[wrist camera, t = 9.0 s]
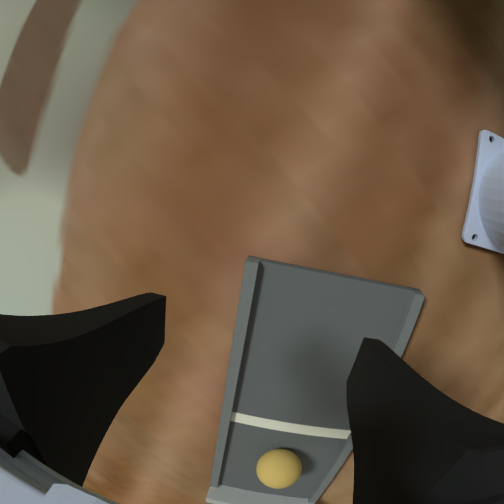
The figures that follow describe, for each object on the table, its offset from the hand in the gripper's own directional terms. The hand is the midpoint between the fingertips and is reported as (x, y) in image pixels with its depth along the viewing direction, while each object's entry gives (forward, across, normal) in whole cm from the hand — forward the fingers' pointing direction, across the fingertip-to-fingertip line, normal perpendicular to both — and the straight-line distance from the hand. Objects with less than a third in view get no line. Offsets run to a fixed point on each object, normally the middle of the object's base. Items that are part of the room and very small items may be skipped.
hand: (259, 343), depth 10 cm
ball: (+7, -4, +18) cm, 20 cm away
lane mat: (+10, -4, +14) cm, 18 cm away
